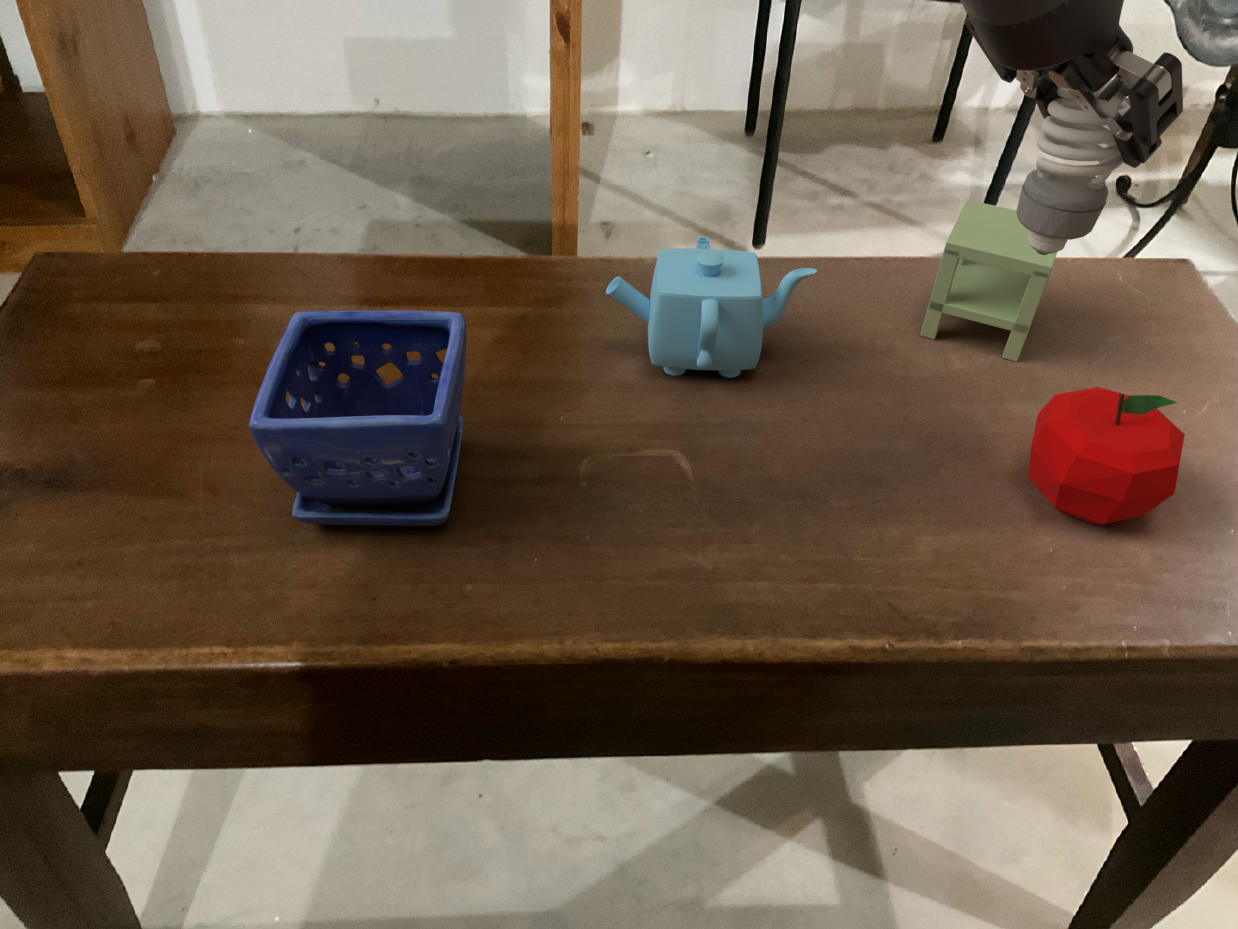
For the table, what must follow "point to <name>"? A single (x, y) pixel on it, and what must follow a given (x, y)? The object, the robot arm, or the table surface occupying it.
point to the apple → (1105, 454)
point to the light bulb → (1068, 175)
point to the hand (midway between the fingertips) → (1101, 134)
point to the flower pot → (365, 416)
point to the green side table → (989, 275)
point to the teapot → (706, 308)
